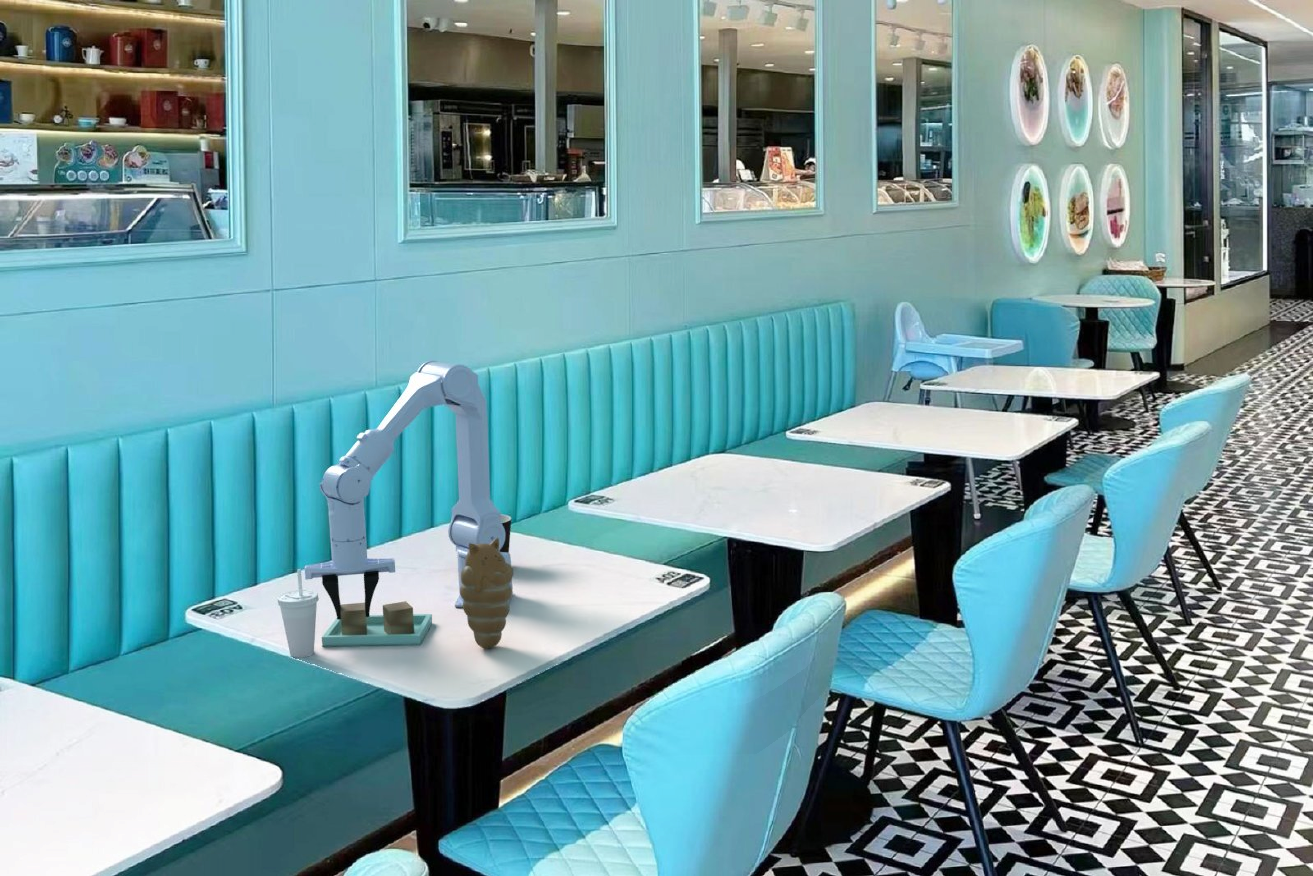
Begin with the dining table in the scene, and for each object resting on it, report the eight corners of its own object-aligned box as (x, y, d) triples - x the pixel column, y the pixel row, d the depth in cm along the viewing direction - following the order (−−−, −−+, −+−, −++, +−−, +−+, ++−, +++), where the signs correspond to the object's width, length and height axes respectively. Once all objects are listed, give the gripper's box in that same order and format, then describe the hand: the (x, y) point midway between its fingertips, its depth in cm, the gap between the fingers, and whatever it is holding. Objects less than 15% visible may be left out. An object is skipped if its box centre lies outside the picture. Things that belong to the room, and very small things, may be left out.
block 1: (366, 628, 222) (365, 602, 222) (367, 635, 219) (365, 609, 218) (342, 630, 222) (340, 604, 221) (342, 637, 218) (340, 611, 217)
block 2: (407, 626, 223) (405, 601, 222) (414, 633, 219) (412, 607, 218) (384, 630, 221) (382, 605, 220) (390, 637, 217) (389, 611, 217)
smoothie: (311, 661, 208) (305, 576, 205) (274, 659, 209) (267, 574, 207) (329, 647, 214) (323, 564, 212) (292, 645, 215) (286, 563, 213)
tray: (432, 623, 225) (431, 614, 225) (420, 645, 214) (419, 635, 214) (339, 624, 225) (338, 615, 225) (322, 646, 215) (321, 637, 214)
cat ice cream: (476, 660, 207) (470, 550, 203) (452, 647, 213) (447, 539, 209) (524, 648, 212) (520, 540, 208) (500, 635, 218) (495, 530, 215)
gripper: (392, 528, 222) (397, 605, 225) (303, 535, 219) (309, 613, 222) (393, 538, 215) (398, 618, 218) (302, 545, 212) (308, 626, 215)
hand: (353, 616), depth 219 cm, fingers closed on block 1, 4 cm apart
